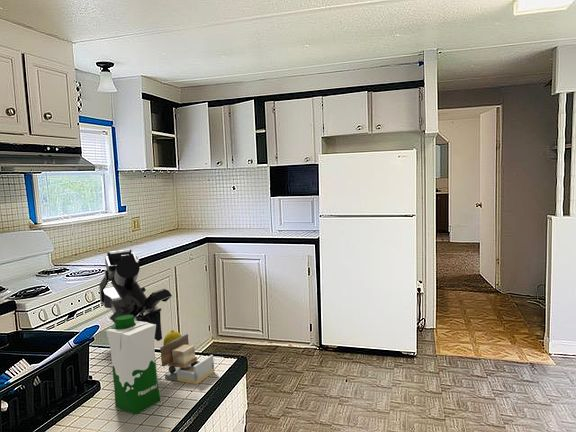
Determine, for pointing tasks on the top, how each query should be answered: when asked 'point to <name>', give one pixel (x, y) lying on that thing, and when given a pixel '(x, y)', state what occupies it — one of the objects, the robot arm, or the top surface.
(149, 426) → the top surface
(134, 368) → the milk carton
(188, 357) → the trolley
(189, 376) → the dock
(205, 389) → the top surface
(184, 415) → the top surface
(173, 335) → the lemon
